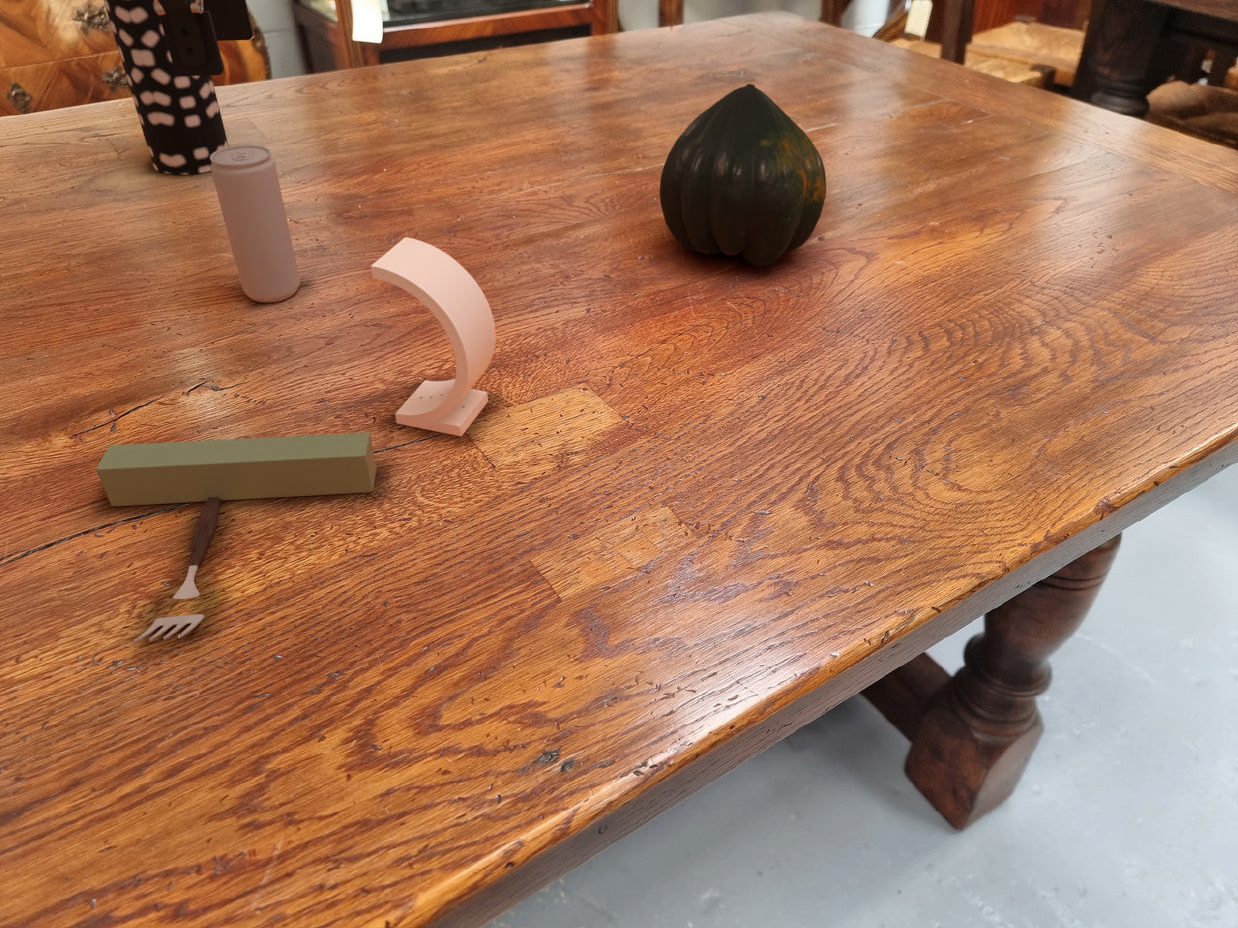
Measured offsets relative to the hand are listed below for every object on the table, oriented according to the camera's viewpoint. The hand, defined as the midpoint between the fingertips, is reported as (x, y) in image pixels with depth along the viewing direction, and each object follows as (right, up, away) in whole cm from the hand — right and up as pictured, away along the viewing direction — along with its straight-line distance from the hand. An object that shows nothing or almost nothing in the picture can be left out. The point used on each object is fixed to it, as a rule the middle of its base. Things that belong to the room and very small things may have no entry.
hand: (217, 56), depth 68 cm
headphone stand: (+18, -27, -2) cm, 32 cm away
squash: (+41, -9, +20) cm, 47 cm away
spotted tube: (-19, +4, +37) cm, 41 cm away
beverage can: (0, -15, +12) cm, 20 cm away
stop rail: (+6, -32, -9) cm, 34 cm away
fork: (+5, -36, -14) cm, 39 cm away
